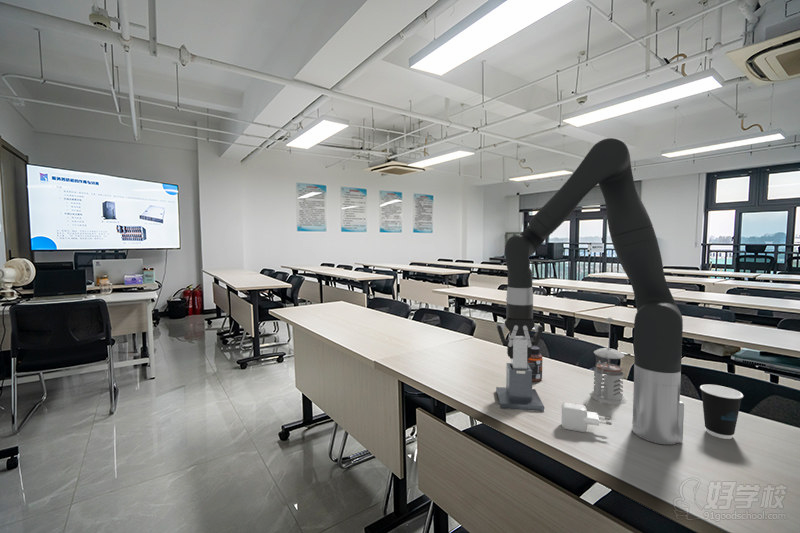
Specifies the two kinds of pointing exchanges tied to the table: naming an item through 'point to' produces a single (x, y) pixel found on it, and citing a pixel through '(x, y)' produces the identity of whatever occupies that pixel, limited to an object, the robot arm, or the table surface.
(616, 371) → the french press
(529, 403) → the stand housing
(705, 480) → the table surface
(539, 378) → the supplement bottle
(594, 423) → the power adapter
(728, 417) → the dixie cup
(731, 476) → the table surface
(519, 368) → the column
